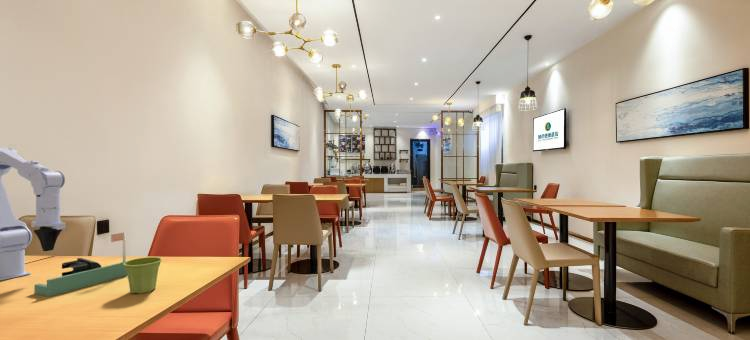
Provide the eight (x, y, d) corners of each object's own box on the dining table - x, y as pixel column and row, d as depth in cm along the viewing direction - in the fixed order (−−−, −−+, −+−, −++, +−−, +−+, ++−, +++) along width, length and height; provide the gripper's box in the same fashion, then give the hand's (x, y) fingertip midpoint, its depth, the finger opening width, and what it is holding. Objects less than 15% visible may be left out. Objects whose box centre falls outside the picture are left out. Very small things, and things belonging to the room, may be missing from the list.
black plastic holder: (102, 281, 112) (102, 259, 112) (74, 287, 106) (74, 264, 106) (88, 276, 117) (88, 256, 117) (61, 282, 111) (61, 260, 111)
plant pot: (166, 290, 103) (166, 260, 103) (127, 298, 96) (127, 267, 96) (156, 283, 109) (156, 255, 109) (119, 291, 102) (119, 261, 102)
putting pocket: (34, 293, 101) (34, 242, 101) (116, 272, 122) (116, 230, 122) (49, 296, 98) (49, 244, 98) (130, 274, 119) (130, 231, 119)
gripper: (19, 208, 113) (19, 251, 113) (46, 210, 107) (46, 255, 107) (46, 206, 119) (46, 246, 119) (73, 208, 114) (73, 250, 114)
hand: (48, 250), depth 114 cm, fingers closed
